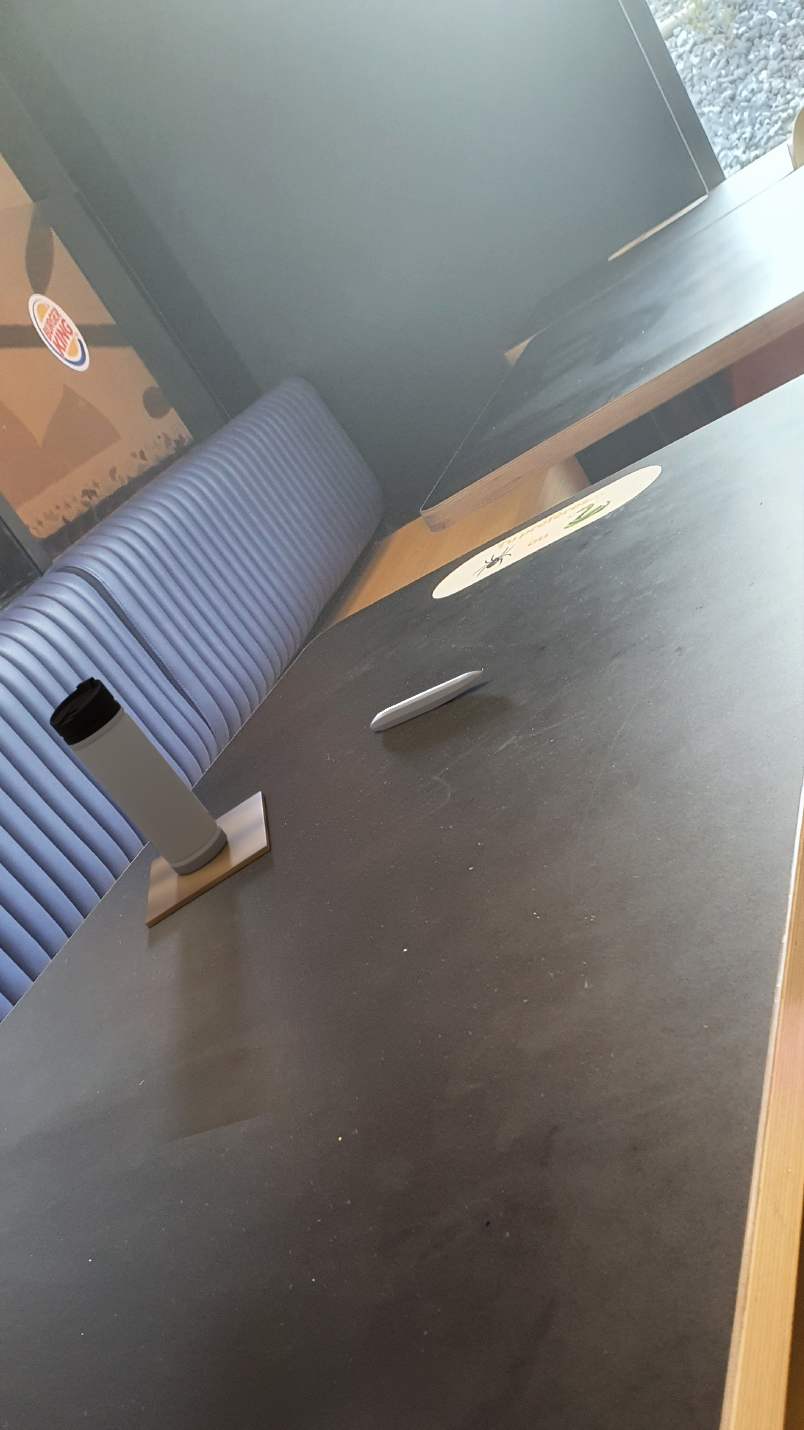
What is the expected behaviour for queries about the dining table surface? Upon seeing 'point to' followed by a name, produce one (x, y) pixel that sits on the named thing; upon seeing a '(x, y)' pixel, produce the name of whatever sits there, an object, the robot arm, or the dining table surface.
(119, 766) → the travel mug
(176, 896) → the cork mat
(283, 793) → the dining table surface
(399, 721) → the pen
